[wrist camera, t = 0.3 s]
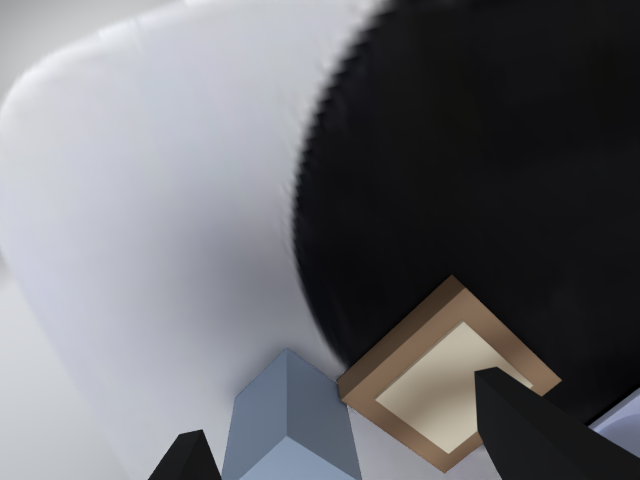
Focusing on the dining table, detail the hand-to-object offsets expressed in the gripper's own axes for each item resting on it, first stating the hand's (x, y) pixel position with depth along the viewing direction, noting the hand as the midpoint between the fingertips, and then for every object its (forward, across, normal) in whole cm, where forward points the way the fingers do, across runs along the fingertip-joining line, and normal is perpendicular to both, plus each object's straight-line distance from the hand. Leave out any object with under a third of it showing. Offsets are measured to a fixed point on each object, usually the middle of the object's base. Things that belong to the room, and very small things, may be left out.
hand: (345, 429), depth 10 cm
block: (+10, +3, +7) cm, 13 cm away
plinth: (+10, -6, +8) cm, 14 cm away
